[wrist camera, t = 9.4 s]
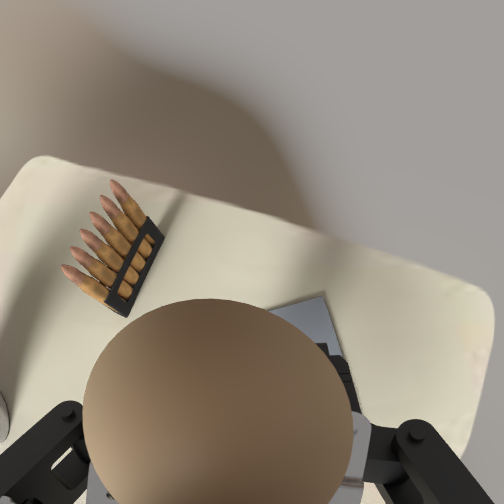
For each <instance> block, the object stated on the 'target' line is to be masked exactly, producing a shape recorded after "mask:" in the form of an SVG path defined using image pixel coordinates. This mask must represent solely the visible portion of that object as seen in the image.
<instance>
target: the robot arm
mask: <svg viewBox="0 0 504 504" xmlns="http://www.w3.org/2000/svg"><path fill="white" fill-rule="evenodd" d="M315 344H316V345H317V346H318V347H319V348H320V349H321V350H322V351H323V352H324V353H325V355H326V356H327V358H328V359H329V360H330V362H331V363H332V365H333V366H334V367H335V369H336V371H337V373H338V375H339V377H340V379H341V381H342V382H343V384H344V387H345V390H346V393H347V396H348V399H349V401H350V406H351V411H352V417H353V434H354V438H353V446H352V454H351V458H350V461H349V465H348V468H347V471H346V474H345V476H344V478H343V480H342V482H341V485H340V487H339V488H338V490H337V491H336V493H335V494H334V496H333V497H332V499H331V500H330V502H329V503H328V504H360V502H361V498H362V494H363V489H364V483H363V482H370V483H374V484H375V485H376V487H377V489H378V491H379V492H380V494H381V496H382V498H383V499H384V501H385V503H386V504H494V503H493V502H492V500H491V499H490V497H489V496H488V495H487V494H486V492H485V491H484V490H483V489H482V487H481V486H480V485H479V483H478V482H477V481H476V479H475V478H474V477H473V476H472V474H471V473H470V472H469V471H468V469H467V468H466V467H465V466H464V464H463V463H462V462H461V461H460V459H459V458H458V457H457V456H456V454H455V453H454V452H453V451H452V449H451V448H450V447H449V446H448V444H447V443H446V442H445V441H444V440H443V438H442V437H441V436H440V435H439V433H438V432H437V431H436V430H435V429H434V427H433V426H432V425H431V424H429V423H428V422H426V421H424V420H420V419H412V420H408V421H405V422H404V423H402V424H401V425H400V426H399V428H398V429H397V428H388V427H381V426H377V425H374V424H372V423H370V421H369V420H368V419H367V418H366V417H365V416H364V415H362V413H361V410H360V406H359V403H358V399H357V395H356V391H355V388H354V384H353V382H352V381H353V380H352V377H351V375H350V370H349V366H348V363H347V362H346V361H345V360H344V359H343V357H342V356H341V355H330V354H329V350H328V345H327V343H315ZM8 430H9V418H8V412H7V407H6V404H5V401H4V399H3V397H2V395H1V393H0V442H2V441H4V440H5V439H6V437H7V434H8ZM70 447H71V448H72V451H71V452H70V453H69V454H68V455H67V456H66V457H65V458H64V459H63V460H62V461H61V462H60V463H59V464H58V465H57V466H56V467H55V468H54V469H52V470H51V467H52V465H53V464H54V463H55V462H56V461H57V460H58V459H59V458H60V457H61V456H62V455H63V454H64V453H65V452H66V451H67V450H68V449H69V448H70ZM86 489H87V497H86V504H119V503H118V502H117V501H116V500H115V499H114V498H113V497H112V495H111V494H110V493H109V491H108V490H107V489H106V487H105V486H104V485H103V483H102V481H101V480H100V478H99V476H98V474H97V473H96V471H95V468H94V466H93V464H92V461H91V459H90V457H89V453H88V450H87V446H86V443H85V437H84V431H83V406H82V404H80V403H79V402H76V401H64V402H62V403H60V404H58V405H57V406H56V407H54V408H53V409H52V410H51V411H50V412H49V413H48V414H46V415H45V416H44V417H43V418H42V419H41V420H40V421H38V422H37V423H36V424H35V425H34V426H33V427H31V428H30V429H29V430H28V431H27V432H26V433H25V434H23V435H22V436H21V437H20V438H19V439H18V440H17V441H15V442H14V443H13V444H12V445H11V446H10V447H9V448H8V449H6V450H5V451H4V452H3V453H2V454H1V455H0V504H73V503H74V502H75V501H76V500H77V499H78V498H79V497H80V496H81V495H82V494H83V492H84V491H85V490H86Z"/></svg>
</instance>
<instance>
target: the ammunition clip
mask: <svg viewBox="0 0 504 504" xmlns="http://www.w3.org/2000/svg"><path fill="white" fill-rule="evenodd" d="M110 185H111V189H112V191H113V193H114V195H115V197H116V199H117V200H118V202H119V203H120V205H121V207H122V209H123V211H124V213H125V214H126V215H125V214H124V213H123V212H122V211H121V210H120V209H119V208H118V207H117V206H116V205H115V204H114V203H113V202H112V201H111V200H110V199H109V198H107V197H105V196H103V195H101V196H100V201H101V204H102V206H103V208H104V210H105V211H106V213H107V214H108V216H109V217H110V219H111V220H112V221H113V223H114V225H115V227H116V228H117V230H116V229H114V228H113V227H112V226H111V225H110V224H109V223H108V222H107V221H106V220H105V219H104V218H103V217H101V216H100V215H98V214H97V213H95V212H90V218H91V220H92V222H93V224H94V226H95V227H96V228H97V230H98V231H99V232H100V233H101V235H102V236H103V237H104V238H105V240H106V242H107V243H108V244H109V245H110V246H111V247H112V248H113V249H114V250H115V251H114V250H113V249H112V248H111V247H110V246H109V245H107V244H105V243H104V242H103V241H102V240H100V239H99V238H98V237H97V236H95V235H94V234H93V233H91V232H90V231H88V230H85V229H80V234H81V236H82V238H83V240H84V241H85V243H86V244H87V245H88V246H89V247H90V248H91V249H92V250H93V251H94V252H95V253H96V255H97V256H98V258H99V259H100V260H101V261H102V262H103V263H105V264H106V265H107V266H106V265H105V264H103V263H102V262H101V261H99V260H97V259H95V258H94V257H92V256H90V255H89V254H88V253H87V252H85V251H84V250H82V249H80V248H77V247H73V246H71V247H70V250H71V252H72V254H73V256H74V257H75V259H76V260H77V261H78V262H79V263H80V264H81V265H83V266H84V268H86V269H87V270H88V271H89V273H90V274H91V275H92V276H93V277H95V278H96V279H97V280H99V281H100V282H98V281H97V280H95V279H94V278H93V277H90V276H87V275H86V274H84V273H82V272H81V271H79V270H78V269H76V268H74V267H72V266H69V265H61V269H62V271H63V272H64V274H65V275H66V276H67V277H68V278H69V279H70V280H71V281H72V282H74V283H75V284H76V285H77V286H79V287H80V288H81V289H82V290H83V291H84V292H85V293H87V294H88V295H90V296H91V297H93V298H94V299H96V300H98V301H99V302H101V303H102V304H104V305H105V306H107V307H108V308H109V309H111V310H112V311H114V312H115V313H117V314H119V315H121V316H123V317H126V318H127V317H128V315H129V313H130V311H131V308H132V306H133V304H134V302H135V299H136V297H137V295H138V293H139V291H140V288H141V286H142V284H143V282H144V280H145V278H146V276H147V273H148V271H149V269H150V267H151V265H152V263H153V261H154V259H155V257H156V255H157V253H158V251H159V249H160V247H161V245H162V243H163V241H164V239H165V237H164V236H163V234H162V233H161V232H160V231H159V229H158V228H157V227H156V225H155V224H154V223H153V222H152V220H151V219H150V218H149V217H148V216H145V214H144V213H143V212H142V210H141V209H140V207H139V206H138V204H137V203H136V202H135V201H134V200H133V199H132V198H131V197H130V195H129V194H128V193H127V192H126V190H125V189H124V188H123V187H122V186H121V185H120V184H119V183H118V182H116V181H115V180H110ZM122 235H123V236H122ZM113 271H114V272H115V273H114V272H113ZM106 286H107V287H108V288H110V289H111V290H110V289H108V288H107V287H106Z"/></svg>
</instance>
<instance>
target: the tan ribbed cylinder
mask: <svg viewBox="0 0 504 504" xmlns="http://www.w3.org/2000/svg"><path fill="white" fill-rule="evenodd" d="M83 431H84V437H85V443H86V446H87V450H88V453H89V457H90V459H91V461H92V464H93V466H94V468H95V471H96V473H97V474H98V476H99V478H100V480H101V481H102V483H103V485H104V486H105V487H106V489H107V490H108V491H109V493H110V494H111V495H112V497H113V498H114V499H115V500H116V501H117V502H118V503H119V504H328V503H329V502H330V500H331V499H332V497H333V496H334V494H335V493H336V491H337V490H338V488H339V487H340V485H341V482H342V480H343V478H344V476H345V474H346V471H347V468H348V465H349V461H350V458H351V454H352V446H353V438H354V434H353V417H352V411H351V406H350V401H349V399H348V396H347V393H346V390H345V387H344V384H343V382H342V381H341V379H340V377H339V375H338V373H337V371H336V369H335V367H334V366H333V365H332V363H331V362H330V360H329V359H328V358H327V356H326V355H325V353H324V352H323V351H322V350H321V349H320V348H319V347H318V346H317V345H316V344H315V343H314V342H313V340H311V339H310V338H309V337H308V336H307V335H305V334H304V333H303V332H302V331H301V330H299V329H298V328H297V327H295V326H294V325H292V324H291V323H289V322H287V321H286V320H284V319H283V318H281V317H279V316H277V315H275V314H273V313H271V312H268V311H266V310H264V309H261V308H258V307H255V306H252V305H249V304H245V303H241V302H236V301H231V300H221V299H193V300H187V301H181V302H176V303H172V304H169V305H166V306H162V307H160V308H157V309H155V310H153V311H150V312H148V313H146V314H144V315H142V316H141V317H139V318H137V319H136V320H134V321H132V322H131V323H130V324H129V325H127V326H126V327H125V328H124V329H122V330H121V331H120V332H119V333H118V334H117V335H116V336H115V337H114V338H113V339H112V340H111V341H110V342H109V343H108V345H107V346H106V348H105V349H104V350H103V352H102V353H101V354H100V356H99V358H98V360H97V361H96V363H95V365H94V367H93V369H92V372H91V374H90V377H89V379H88V382H87V386H86V390H85V395H84V402H83Z"/></svg>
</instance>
